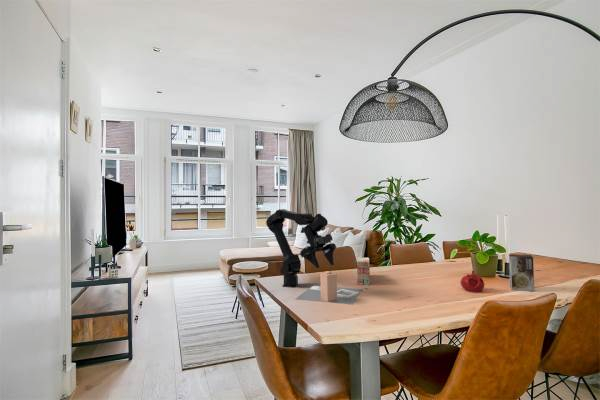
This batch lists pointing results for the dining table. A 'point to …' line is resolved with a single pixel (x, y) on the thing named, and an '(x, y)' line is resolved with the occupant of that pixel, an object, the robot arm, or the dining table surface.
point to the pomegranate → (472, 283)
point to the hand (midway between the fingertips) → (325, 266)
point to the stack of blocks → (363, 271)
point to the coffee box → (521, 272)
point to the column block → (328, 286)
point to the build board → (342, 295)
